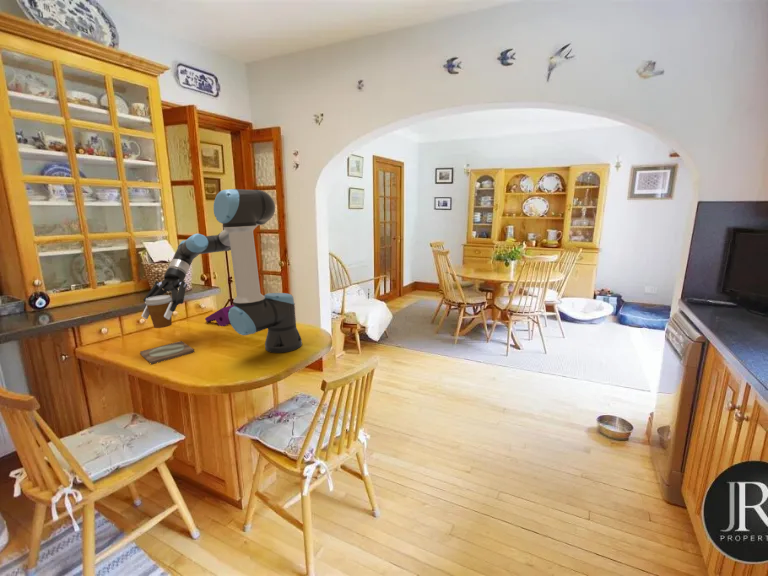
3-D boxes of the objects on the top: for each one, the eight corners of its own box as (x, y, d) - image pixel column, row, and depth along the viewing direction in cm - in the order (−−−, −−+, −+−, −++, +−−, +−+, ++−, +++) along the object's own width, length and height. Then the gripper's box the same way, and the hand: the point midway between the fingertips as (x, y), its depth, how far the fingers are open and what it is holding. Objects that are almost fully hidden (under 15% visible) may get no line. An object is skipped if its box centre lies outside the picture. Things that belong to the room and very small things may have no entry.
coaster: (194, 352, 154) (194, 349, 154) (151, 364, 143) (150, 361, 143) (181, 343, 165) (181, 340, 165) (140, 354, 154) (139, 351, 154)
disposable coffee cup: (175, 320, 158) (170, 293, 156) (177, 326, 150) (172, 297, 148) (149, 325, 153) (144, 297, 151) (149, 331, 145) (144, 301, 143)
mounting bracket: (208, 334, 195) (228, 323, 186) (201, 320, 195) (221, 308, 186) (222, 329, 203) (242, 318, 195) (216, 315, 203) (236, 303, 195)
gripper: (204, 276, 161) (185, 322, 149) (159, 277, 165) (137, 321, 153) (194, 266, 155) (174, 313, 143) (148, 267, 158) (124, 313, 146)
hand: (155, 317), depth 148 cm, fingers closed on disposable coffee cup, 9 cm apart
